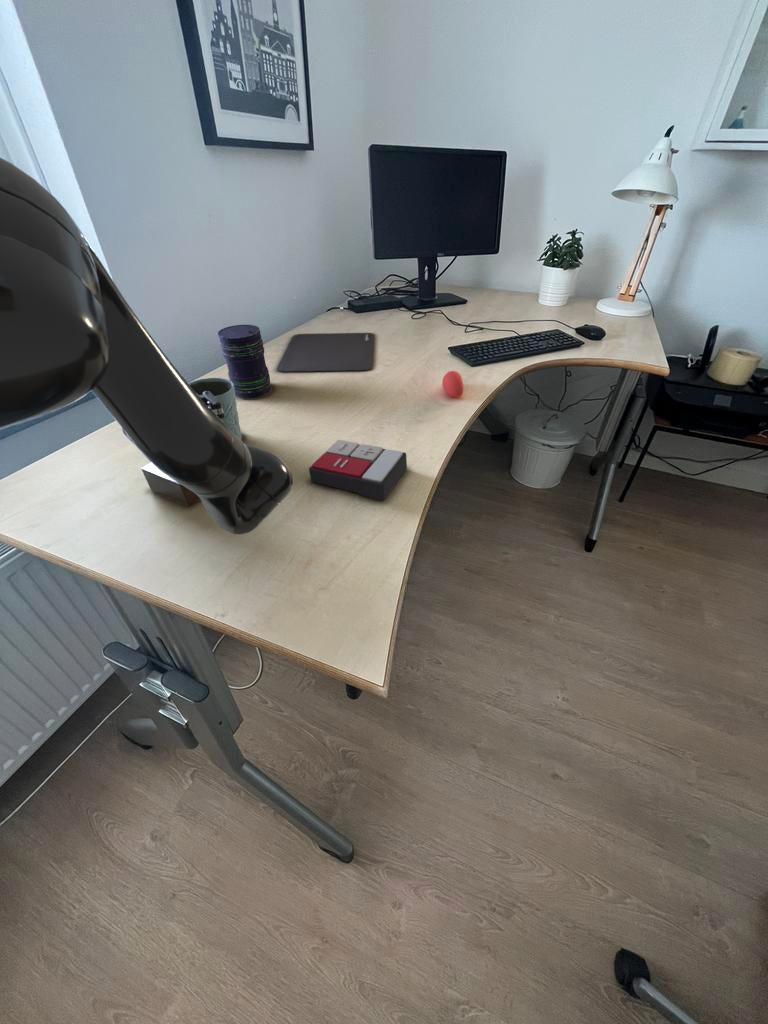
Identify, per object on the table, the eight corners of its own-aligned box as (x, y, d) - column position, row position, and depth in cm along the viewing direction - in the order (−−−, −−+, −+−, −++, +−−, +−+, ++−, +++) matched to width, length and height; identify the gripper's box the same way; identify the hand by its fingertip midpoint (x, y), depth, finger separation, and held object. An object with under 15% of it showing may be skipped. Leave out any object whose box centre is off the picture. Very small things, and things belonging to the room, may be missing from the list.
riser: (188, 507, 75) (179, 484, 72) (151, 490, 79) (140, 468, 76) (230, 478, 82) (224, 455, 79) (194, 464, 86) (186, 442, 83)
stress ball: (435, 402, 108) (444, 385, 102) (440, 375, 112) (450, 358, 106) (454, 408, 108) (465, 392, 103) (459, 382, 112) (469, 365, 107)
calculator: (336, 436, 86) (406, 448, 80) (339, 455, 88) (407, 468, 83) (306, 465, 78) (382, 481, 73) (310, 485, 81) (383, 501, 75)
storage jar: (225, 397, 109) (208, 336, 99) (244, 381, 116) (230, 323, 106) (261, 400, 107) (248, 339, 97) (278, 384, 114) (267, 325, 105)
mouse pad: (371, 370, 120) (371, 369, 120) (275, 372, 120) (274, 371, 120) (374, 333, 144) (374, 332, 144) (294, 334, 144) (294, 334, 144)
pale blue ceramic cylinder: (188, 443, 92) (169, 390, 84) (227, 424, 98) (212, 372, 90) (217, 458, 87) (199, 403, 79) (256, 437, 93) (243, 384, 86)
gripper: (236, 399, 62) (193, 367, 72) (133, 432, 55) (100, 392, 65) (247, 444, 67) (206, 408, 77) (154, 480, 60) (121, 436, 70)
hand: (157, 401), depth 71 cm, fingers open, 8 cm apart
